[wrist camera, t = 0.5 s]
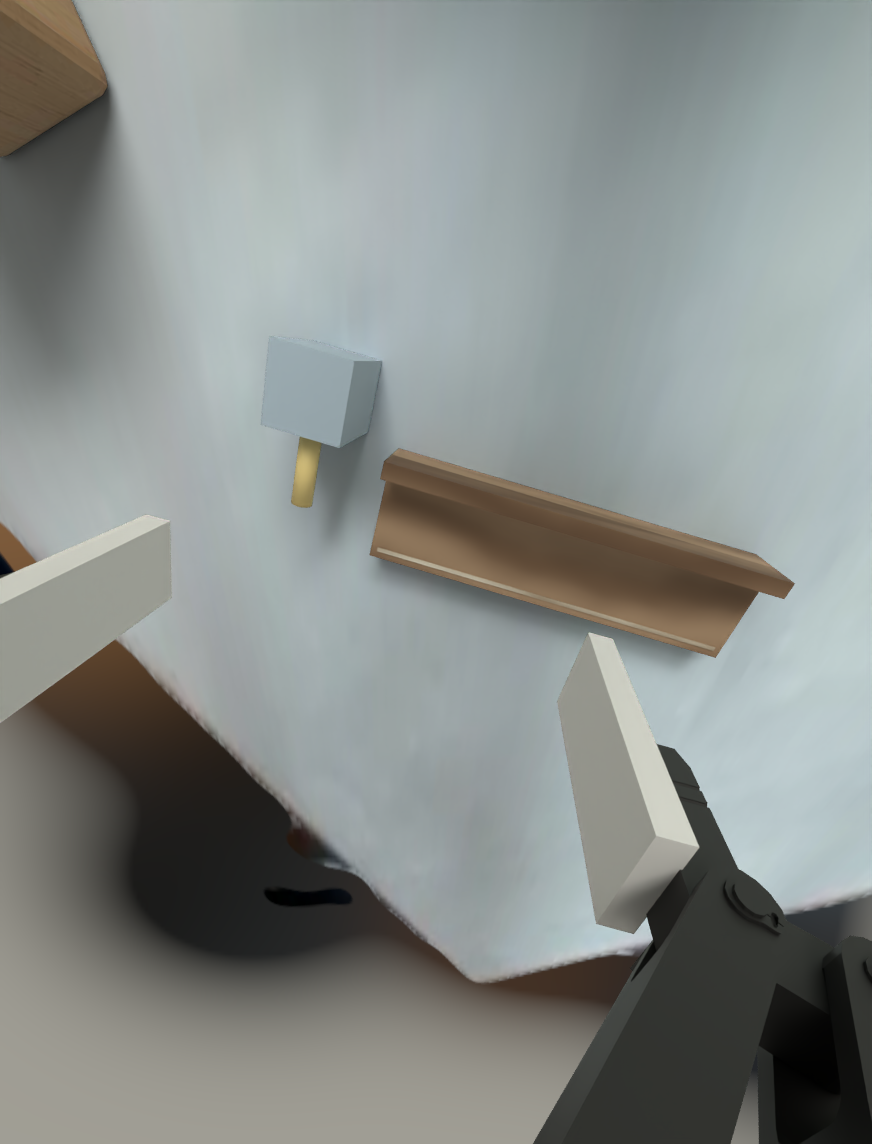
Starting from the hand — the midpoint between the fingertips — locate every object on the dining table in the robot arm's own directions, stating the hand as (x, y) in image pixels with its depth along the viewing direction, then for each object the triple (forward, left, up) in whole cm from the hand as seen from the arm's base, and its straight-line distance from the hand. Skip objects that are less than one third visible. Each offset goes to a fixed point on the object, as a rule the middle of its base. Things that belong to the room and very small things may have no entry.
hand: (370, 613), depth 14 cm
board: (+4, +10, -23) cm, 25 cm away
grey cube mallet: (-1, -9, -23) cm, 24 cm away
